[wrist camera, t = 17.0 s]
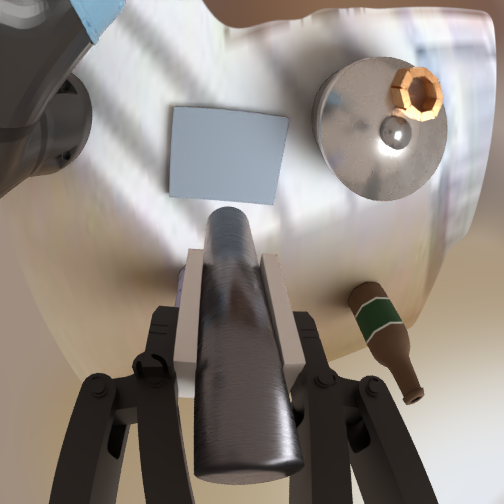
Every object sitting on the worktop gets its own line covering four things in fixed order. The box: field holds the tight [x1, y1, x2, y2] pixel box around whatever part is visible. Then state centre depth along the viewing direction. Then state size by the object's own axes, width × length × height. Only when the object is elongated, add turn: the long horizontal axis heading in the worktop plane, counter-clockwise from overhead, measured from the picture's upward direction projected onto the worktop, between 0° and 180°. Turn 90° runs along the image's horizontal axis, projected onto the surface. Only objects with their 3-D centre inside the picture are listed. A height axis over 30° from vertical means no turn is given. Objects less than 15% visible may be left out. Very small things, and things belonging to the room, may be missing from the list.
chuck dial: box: [317, 57, 447, 201], centre depth 27 cm, size 18×18×4 cm
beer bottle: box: [348, 282, 424, 405], centre depth 42 cm, size 8×8×24 cm
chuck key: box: [194, 207, 305, 485], centre depth 13 cm, size 3×3×16 cm
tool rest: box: [169, 106, 289, 205], centre depth 34 cm, size 14×12×1 cm
